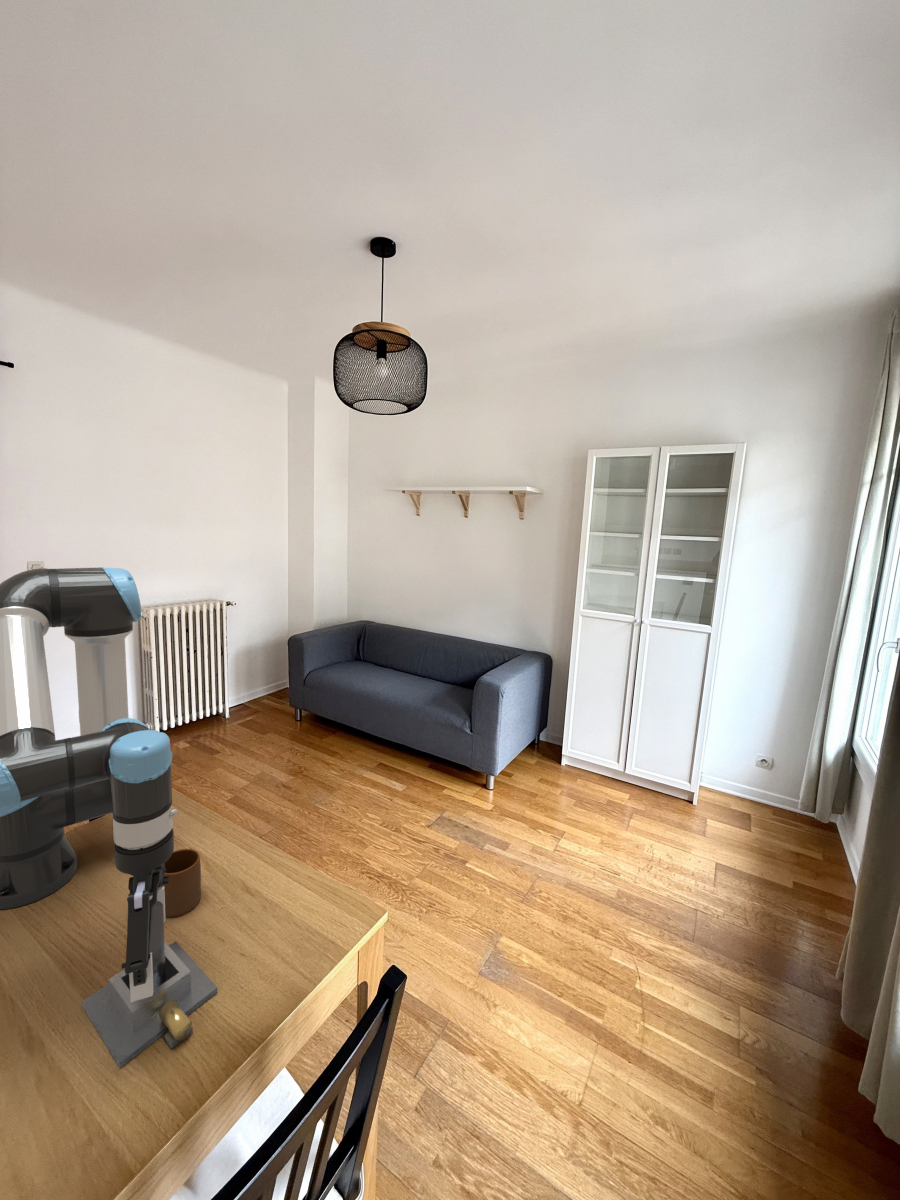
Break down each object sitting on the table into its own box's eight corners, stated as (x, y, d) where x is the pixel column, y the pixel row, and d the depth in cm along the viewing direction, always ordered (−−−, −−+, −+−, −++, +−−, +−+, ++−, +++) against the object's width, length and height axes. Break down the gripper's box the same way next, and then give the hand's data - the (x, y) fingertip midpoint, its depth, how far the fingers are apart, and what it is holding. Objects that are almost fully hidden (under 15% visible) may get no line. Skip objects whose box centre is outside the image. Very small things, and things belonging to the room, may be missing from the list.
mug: (131, 935, 87) (128, 889, 86) (130, 906, 93) (128, 863, 92) (203, 908, 94) (202, 865, 93) (198, 883, 100) (197, 843, 99)
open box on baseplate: (82, 1006, 74) (80, 981, 74) (175, 945, 86) (175, 923, 85) (130, 1086, 64) (129, 1058, 64) (229, 1005, 76) (228, 981, 75)
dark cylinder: (134, 1010, 73) (130, 924, 71) (139, 986, 77) (135, 904, 75) (164, 1000, 75) (161, 917, 73) (167, 978, 79) (164, 898, 76)
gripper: (162, 886, 62) (167, 1024, 65) (181, 787, 84) (184, 894, 88) (92, 902, 59) (100, 1046, 62) (131, 795, 81) (136, 905, 85)
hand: (149, 957), depth 75 cm, fingers open, 13 cm apart
